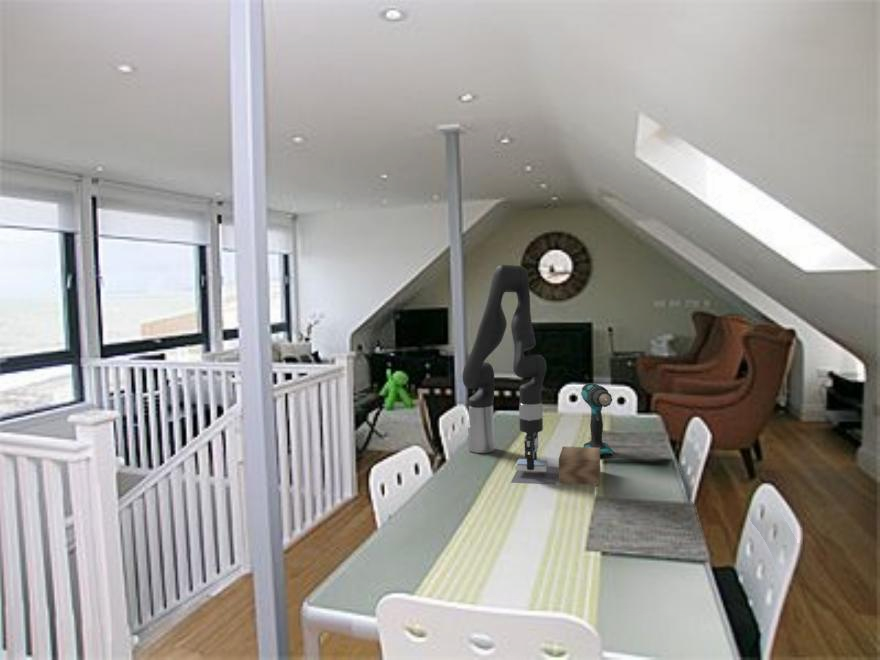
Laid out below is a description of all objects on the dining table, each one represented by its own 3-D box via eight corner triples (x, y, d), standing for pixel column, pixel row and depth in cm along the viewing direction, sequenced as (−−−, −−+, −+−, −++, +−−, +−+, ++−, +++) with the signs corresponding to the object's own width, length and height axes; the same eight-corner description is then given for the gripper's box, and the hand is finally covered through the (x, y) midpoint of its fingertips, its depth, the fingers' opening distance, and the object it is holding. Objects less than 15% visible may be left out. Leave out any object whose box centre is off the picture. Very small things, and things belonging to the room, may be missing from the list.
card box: (515, 469, 202) (515, 463, 202) (518, 464, 208) (518, 458, 208) (546, 471, 199) (546, 465, 199) (548, 465, 205) (548, 460, 205)
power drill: (621, 464, 210) (620, 391, 208) (595, 465, 211) (593, 392, 209) (603, 443, 236) (601, 379, 234) (579, 444, 237) (577, 380, 235)
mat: (510, 483, 196) (510, 482, 196) (519, 466, 214) (519, 465, 214) (555, 485, 193) (555, 484, 193) (560, 468, 210) (560, 466, 210)
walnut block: (559, 483, 194) (558, 458, 194) (563, 469, 208) (562, 446, 207) (599, 485, 191) (598, 460, 190) (600, 471, 204) (599, 447, 204)
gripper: (522, 410, 210) (524, 459, 211) (515, 421, 196) (517, 472, 198) (545, 411, 208) (546, 460, 209) (539, 422, 194) (540, 474, 195)
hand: (532, 466), depth 203 cm, fingers closed on card box, 6 cm apart
